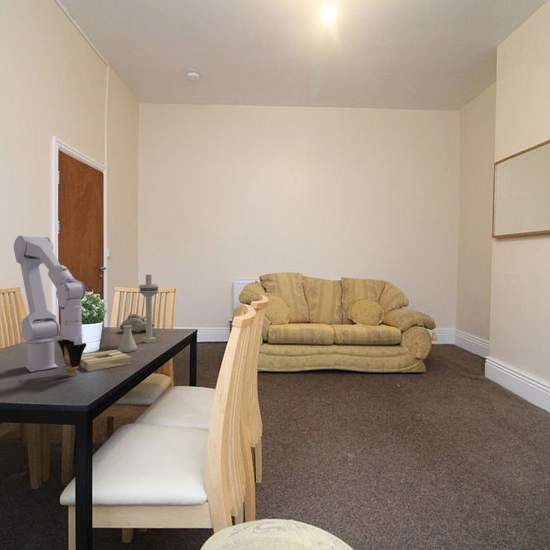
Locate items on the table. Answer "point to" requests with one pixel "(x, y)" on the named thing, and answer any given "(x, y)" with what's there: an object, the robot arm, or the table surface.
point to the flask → (127, 340)
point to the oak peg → (69, 365)
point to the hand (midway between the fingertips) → (71, 364)
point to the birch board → (104, 360)
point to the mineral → (136, 322)
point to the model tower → (148, 306)
